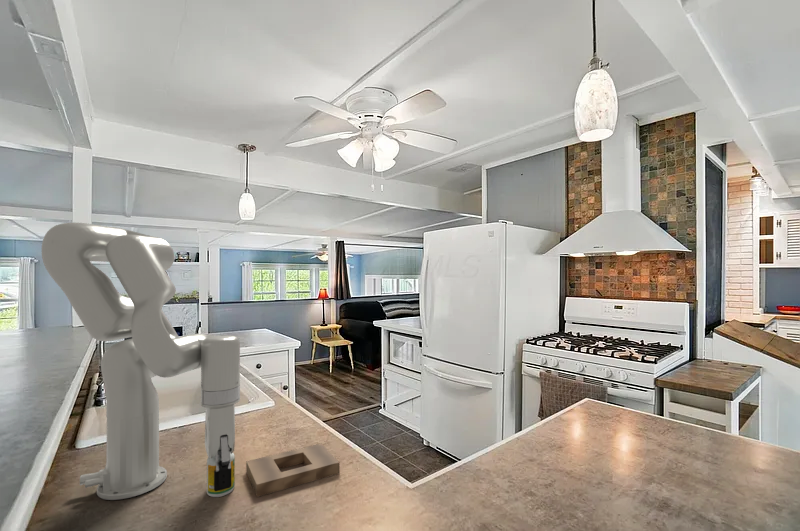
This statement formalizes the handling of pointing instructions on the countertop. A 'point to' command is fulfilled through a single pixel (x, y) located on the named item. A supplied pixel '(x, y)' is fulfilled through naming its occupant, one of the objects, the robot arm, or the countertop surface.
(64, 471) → the countertop surface
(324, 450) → the frame
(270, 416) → the countertop surface
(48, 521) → the countertop surface
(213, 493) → the supplement bottle
